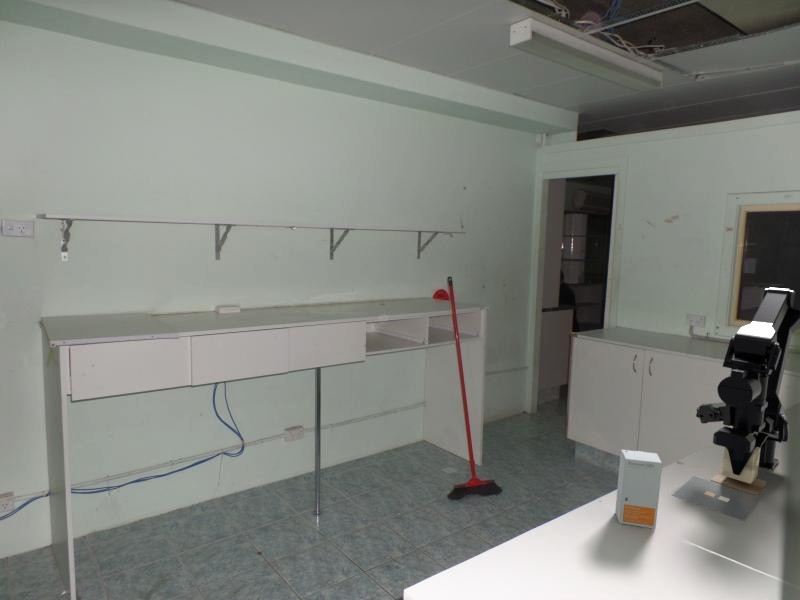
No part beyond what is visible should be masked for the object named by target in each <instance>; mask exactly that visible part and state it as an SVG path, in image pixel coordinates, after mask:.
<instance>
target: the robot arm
mask: <svg viewBox="0 0 800 600" xmlns="http://www.w3.org/2000/svg"><path fill="white" fill-rule="evenodd" d="M760 299H761V300H760V304H759V307H758V309H757V311H756V312H755V314H754V316H753V318H752V320H751V322H750V323H749V324H745V325H743V326H741V327H740V328H738V330H737V331H736V333H735V334H734V336H731V338H730V340H729V343H728V346H727V350H726V352H725V353H726V354H725V357H724V360H723V364H722V367H723V368H728V369H730V374H729V375H728V376H726V377H724V378H723V379H722V380H721V381H720V382H719V383H718V386H717V388H716V389H717V395H718V397H719V399H720V401H721V402H712V403H702V404H700V405H699V406H698V407H697V408H696V414H695V417H697V418H698V419H699V420H700V423H701V424H708V423H717V422H719V423H720V422H722V425H723V426H722V427H721V428H719V429H718V430H716V431H715V432H714V433H713V436H712V437H713V438H712V443H713V444H714V445H716V446H720V447H723V448H725V447H726V448H727V450H728V453H729V457H730V462H731V466H732V471H733V474H735V475H740V474H741V472H742V471H743V469H744V467H745V466H746V464H747V463H748V461H749V459H750V458H751V456H752V455H753V453H754V451H755V450H756V448H757V447H760V448H761V449H760V458H759V467H760V468H763V469H767V470H770V469H771V470H770V471H773V469H775V467H776V465H778V464H779V462H780V459H778V458H775V456H776V448H777V442H778V443H779V444H782V443H783V442H785V443H788V441H789V437H790V431H789V429H790V428H789V421H787V415H786V414H785V408H784V405H783V403H782V400H781V399H780V397H779V395H780V389H781V386H782V381H783V376H784V372H785V367H786V363H787V359H788V353H789V350H790V344H791V339H792V337H793V334H794V333H795V332H796V331H797V330H799V329H800V293H799V292H796V291H795V290H791V288H781V287H780V288H779V287H769V288H768V287H767V288H765V289H764V291H763V292H762V293H761V298H760ZM759 467H758V468H759Z"/></svg>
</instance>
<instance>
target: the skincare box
mask: <svg viewBox="0 0 800 600" xmlns="http://www.w3.org/2000/svg"><path fill="white" fill-rule="evenodd" d="M662 469H663V462H662V461H661V458H660V457H659V455H658V453H656V452H649V451H648V452H647V451H641V450H628V449H620V457H619V467H618V478H617V488H616V489H617V491H616V498H615V500H616V501H615V514H616V517H617V521H618V524H622V525H629V526H635V527H636V526H637V527H642V528H648V529H652V528H653V530H655V529H656V526H657V519H658V508H659V501H660V500H659V499H660V498H659V497H660V489H661V481H662V480H661V479H662Z"/></svg>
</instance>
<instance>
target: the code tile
mask: <svg viewBox="0 0 800 600" xmlns="http://www.w3.org/2000/svg"><path fill="white" fill-rule="evenodd" d="M671 496H673V497H676V498H678V499H681V500H684V501H686V502H690V503H692V504H695V505H698V506H702V507H704V508H707V509H710V510H712V511H715V512H718V513H719V514H720V513H721V514H724V515H725V516H726V515H727V516H728V517H731V518H734V519H738V520H740V521H743V522H745V521H746V520H747V518H749V516H750V514H751V513H752V512H753V511H754V509H755V508H756V507H757V506H758V504H759V503H760V502H761V500H763V497H760V496H758V495H754V494H751V493H748V492H745V491H742V490H739V489H736V488H733V487H729V486H726V485H723V484H720V483H717V482H714V481H711V480H708V479H704V478H701V477H698V476H696V475H693V476H691V478H690V479H688V481H686V482H685V483H684V484H682V486H681V487H679V488H678V489H677V490H676V491H675V492H673V494H671Z"/></svg>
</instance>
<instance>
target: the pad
mask: <svg viewBox="0 0 800 600" xmlns="http://www.w3.org/2000/svg"><path fill="white" fill-rule="evenodd" d="M710 481H711V482H714V483H717V484H720V485H723V486H727V487H730V488H733V489H736V490H739V491H742V492H745V493H748V494H751V495H754V496H758V495H759V494H760V492H761V491H762V490H763V488H764V487H765V486H766V485H767V483H768V480H763V479H760V478H757V477H756V478H755V479H754V480H753V482H752V483H751V484H750V483H746V482H743V481H740V480H737V479H733V478H730V477H727V476H724V475H722V469H720V470H719V471H718V472H717V473H716V474H715V475H714V476H713V477H711V479H710Z"/></svg>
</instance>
